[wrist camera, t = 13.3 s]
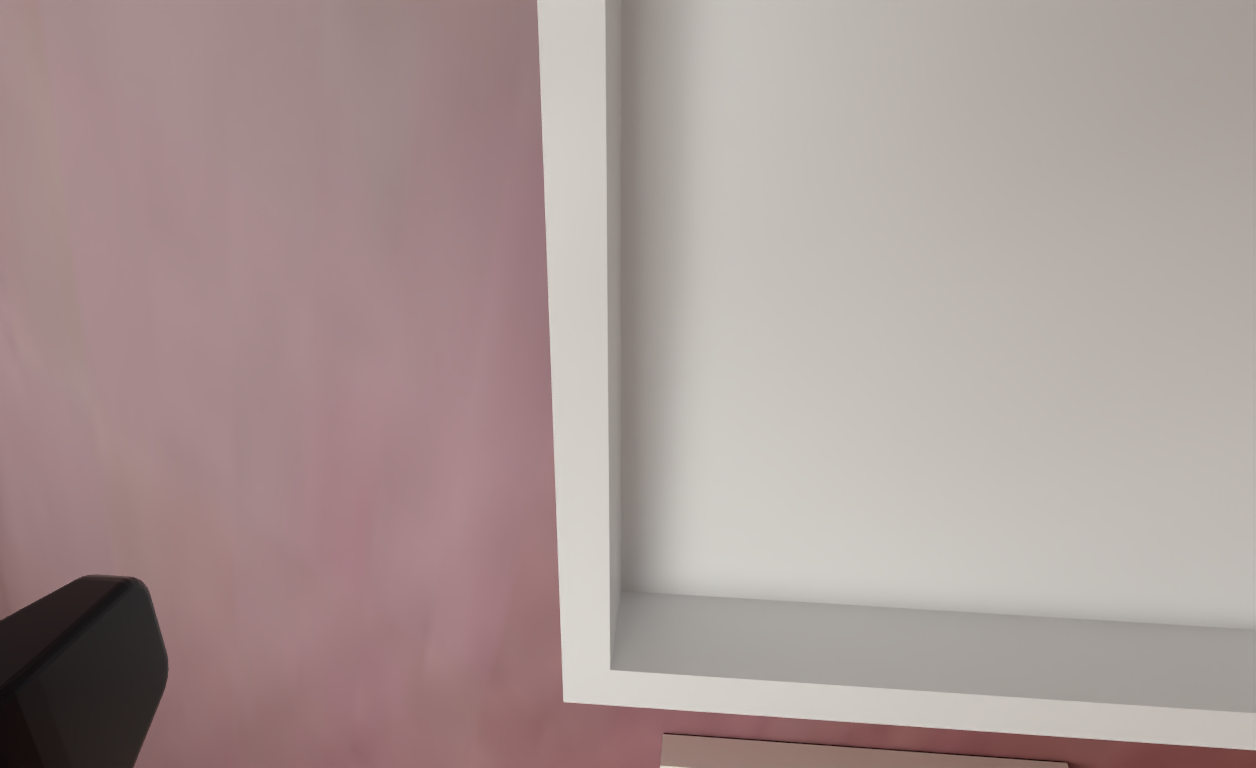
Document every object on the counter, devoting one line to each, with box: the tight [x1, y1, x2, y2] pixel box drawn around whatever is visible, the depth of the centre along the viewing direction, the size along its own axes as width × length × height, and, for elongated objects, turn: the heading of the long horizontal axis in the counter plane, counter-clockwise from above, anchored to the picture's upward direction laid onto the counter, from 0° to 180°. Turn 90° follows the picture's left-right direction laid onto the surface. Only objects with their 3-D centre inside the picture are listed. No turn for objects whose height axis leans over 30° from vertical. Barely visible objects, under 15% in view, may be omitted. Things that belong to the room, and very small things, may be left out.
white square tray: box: [537, 0, 1256, 750], centre depth 18 cm, size 18×18×3 cm
